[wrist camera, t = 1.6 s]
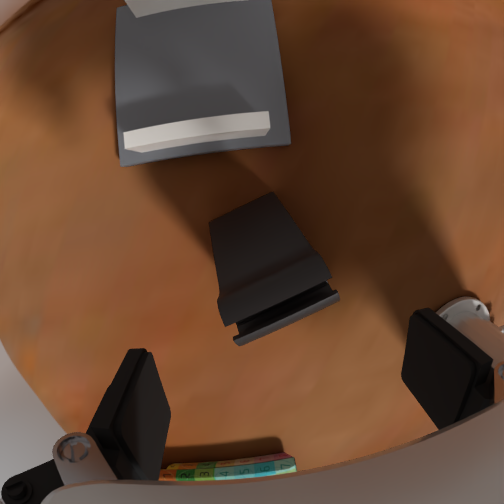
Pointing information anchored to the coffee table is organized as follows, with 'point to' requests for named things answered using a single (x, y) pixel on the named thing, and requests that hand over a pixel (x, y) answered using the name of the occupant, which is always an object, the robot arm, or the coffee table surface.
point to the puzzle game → (230, 468)
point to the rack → (197, 79)
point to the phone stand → (266, 270)
